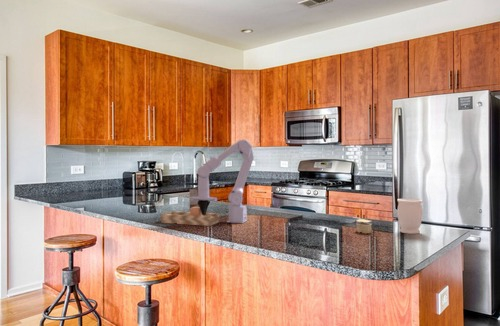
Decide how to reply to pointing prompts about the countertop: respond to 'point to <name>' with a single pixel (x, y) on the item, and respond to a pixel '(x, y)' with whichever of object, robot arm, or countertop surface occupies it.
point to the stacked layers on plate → (363, 226)
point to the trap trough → (189, 218)
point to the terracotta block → (195, 211)
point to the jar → (409, 215)
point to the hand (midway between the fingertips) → (203, 214)
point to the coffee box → (193, 194)
